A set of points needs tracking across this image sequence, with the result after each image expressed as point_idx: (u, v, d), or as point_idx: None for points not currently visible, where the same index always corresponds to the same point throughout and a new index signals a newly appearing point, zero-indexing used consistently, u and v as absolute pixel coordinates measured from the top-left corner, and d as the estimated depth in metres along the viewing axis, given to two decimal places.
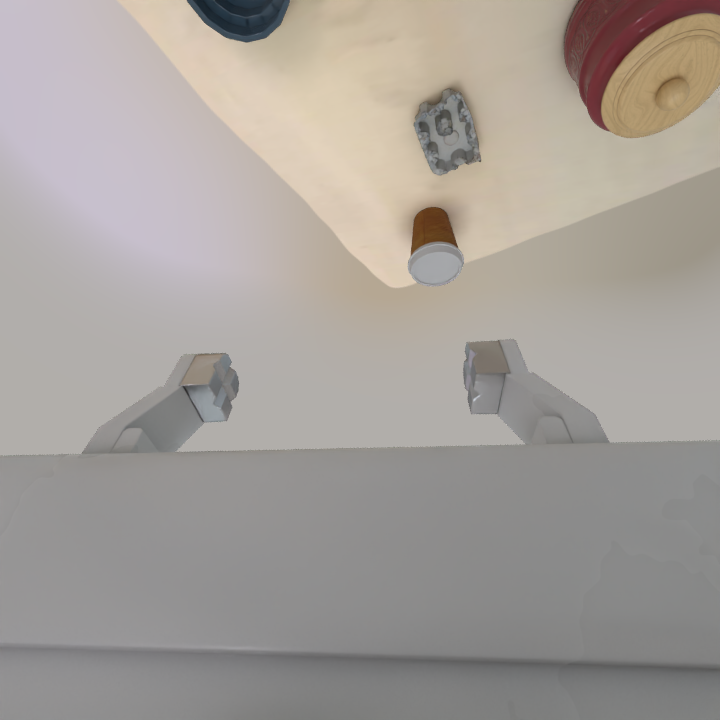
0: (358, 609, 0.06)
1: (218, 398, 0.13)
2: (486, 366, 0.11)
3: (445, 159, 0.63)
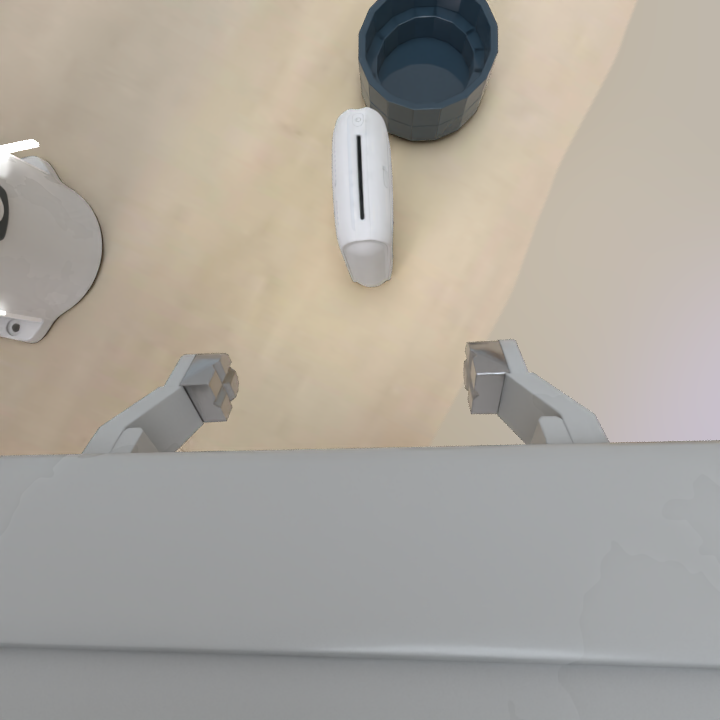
0: (358, 609, 0.06)
1: (218, 398, 0.13)
2: (486, 366, 0.11)
3: None
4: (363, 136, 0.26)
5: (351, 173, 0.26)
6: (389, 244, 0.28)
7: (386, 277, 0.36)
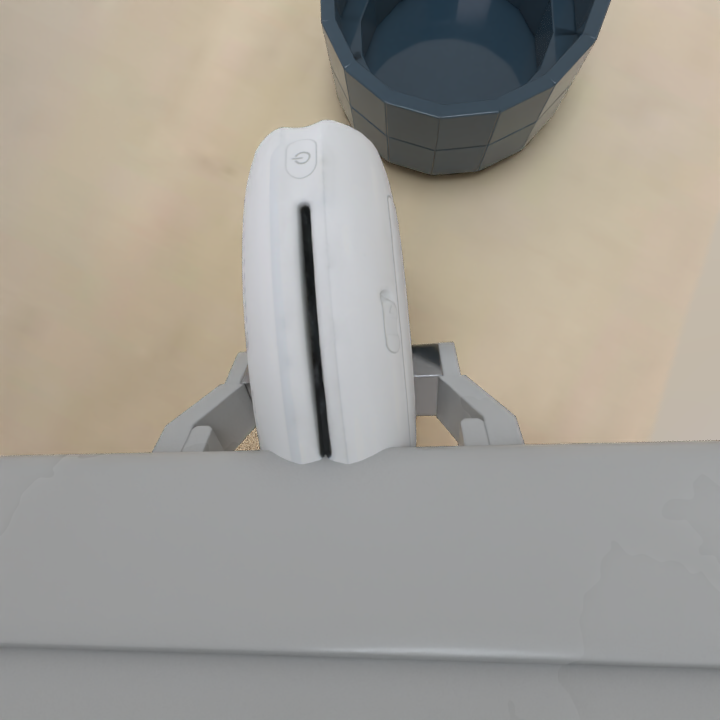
0: (358, 608, 0.06)
1: None
2: (421, 369, 0.12)
3: None
4: (318, 209, 0.09)
5: (284, 327, 0.08)
6: None
7: None
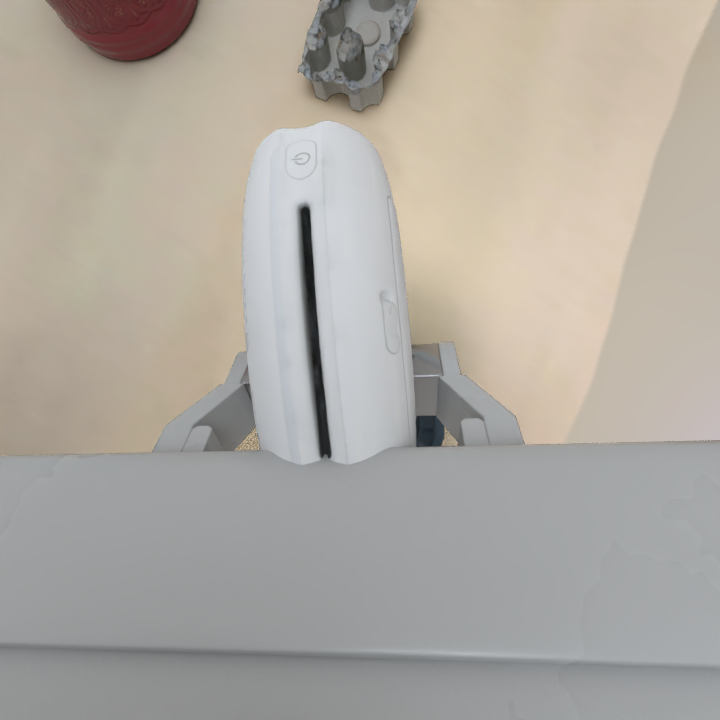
0: (358, 609, 0.06)
1: None
2: (421, 369, 0.12)
3: None
4: (318, 210, 0.09)
5: (284, 328, 0.08)
6: None
7: None
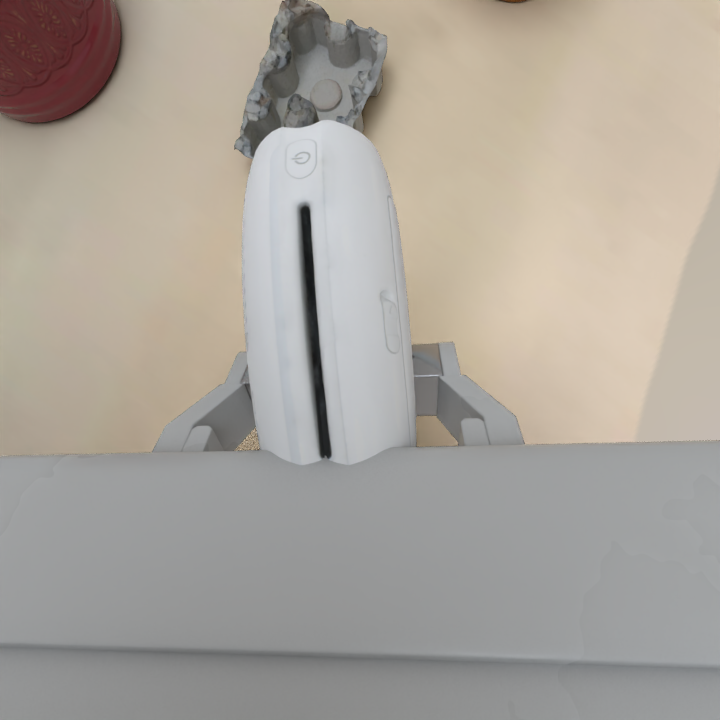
0: (358, 609, 0.06)
1: None
2: (421, 369, 0.12)
3: (369, 68, 0.28)
4: (318, 209, 0.09)
5: (284, 327, 0.08)
6: None
7: None
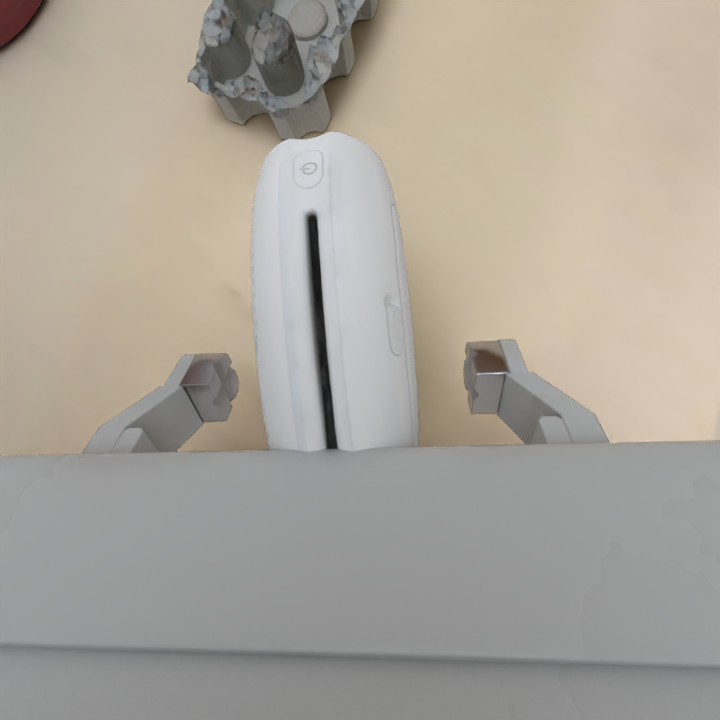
0: (358, 609, 0.06)
1: (218, 398, 0.13)
2: (486, 366, 0.11)
3: None
4: (325, 218, 0.09)
5: (293, 331, 0.09)
6: None
7: None
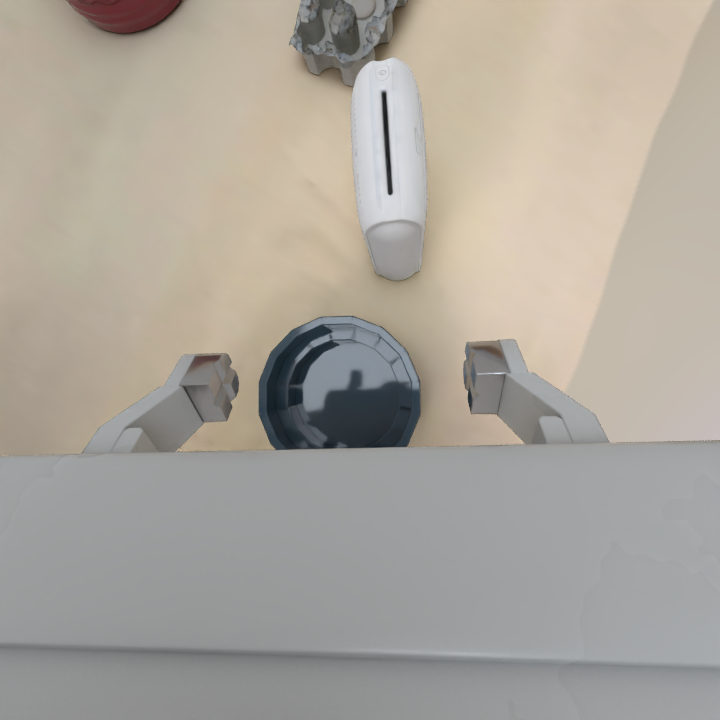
0: (358, 609, 0.06)
1: (218, 398, 0.13)
2: (486, 366, 0.11)
3: None
4: (390, 91, 0.21)
5: (376, 137, 0.21)
6: (423, 225, 0.23)
7: (415, 268, 0.31)
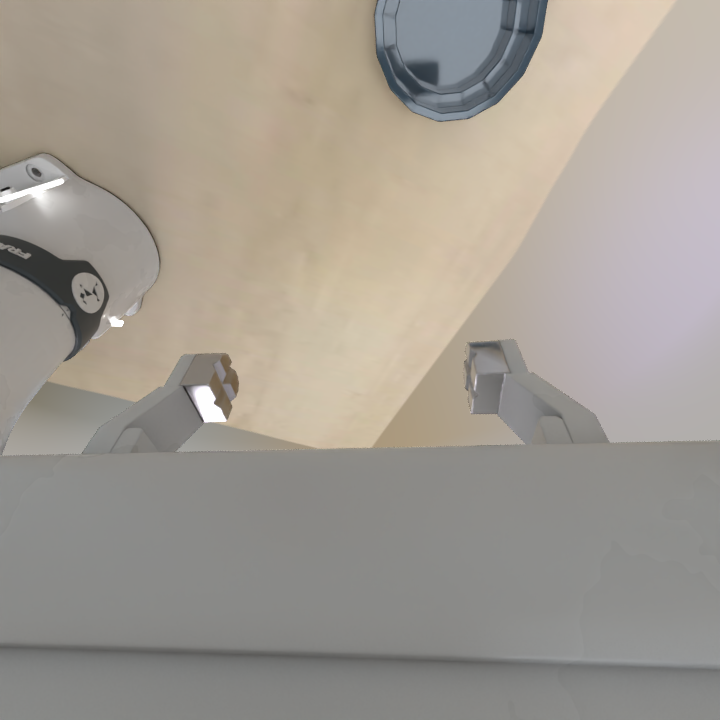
0: (358, 608, 0.06)
1: (218, 398, 0.13)
2: (486, 366, 0.11)
3: None
4: None
5: None
6: None
7: None
